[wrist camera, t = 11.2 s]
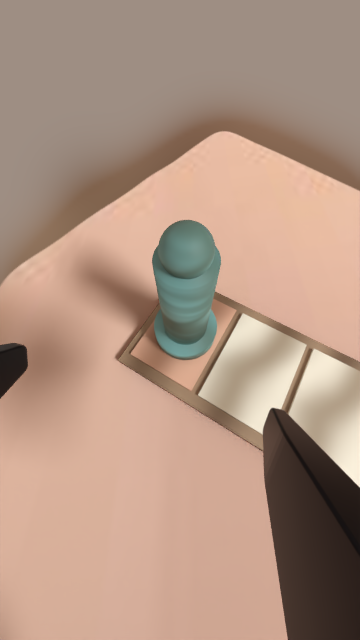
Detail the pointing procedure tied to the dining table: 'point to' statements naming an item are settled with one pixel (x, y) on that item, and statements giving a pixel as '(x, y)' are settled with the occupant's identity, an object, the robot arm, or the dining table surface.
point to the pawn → (186, 289)
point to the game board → (261, 380)
